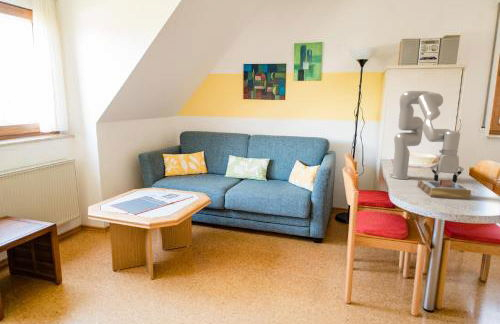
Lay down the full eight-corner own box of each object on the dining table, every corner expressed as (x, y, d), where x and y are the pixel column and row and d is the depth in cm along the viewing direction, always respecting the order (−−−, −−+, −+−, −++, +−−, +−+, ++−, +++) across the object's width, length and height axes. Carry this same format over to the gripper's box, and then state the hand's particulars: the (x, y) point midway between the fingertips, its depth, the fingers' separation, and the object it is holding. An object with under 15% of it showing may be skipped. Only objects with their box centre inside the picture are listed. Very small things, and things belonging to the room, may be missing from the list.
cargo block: (438, 189, 191) (439, 179, 189) (447, 189, 190) (448, 179, 188) (441, 191, 186) (443, 181, 185) (451, 192, 185) (452, 181, 184)
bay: (417, 186, 204) (418, 178, 203) (451, 188, 201) (452, 180, 200) (430, 197, 182) (431, 188, 181) (469, 199, 179) (471, 190, 178)
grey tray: (425, 187, 196) (425, 181, 195) (454, 189, 193) (455, 182, 192) (433, 194, 183) (434, 187, 182) (465, 196, 180) (466, 188, 179)
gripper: (435, 153, 181) (431, 182, 185) (469, 154, 178) (464, 184, 182) (430, 150, 188) (426, 178, 192) (463, 152, 186) (458, 180, 189)
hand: (444, 181), depth 187 cm, fingers open, 9 cm apart
